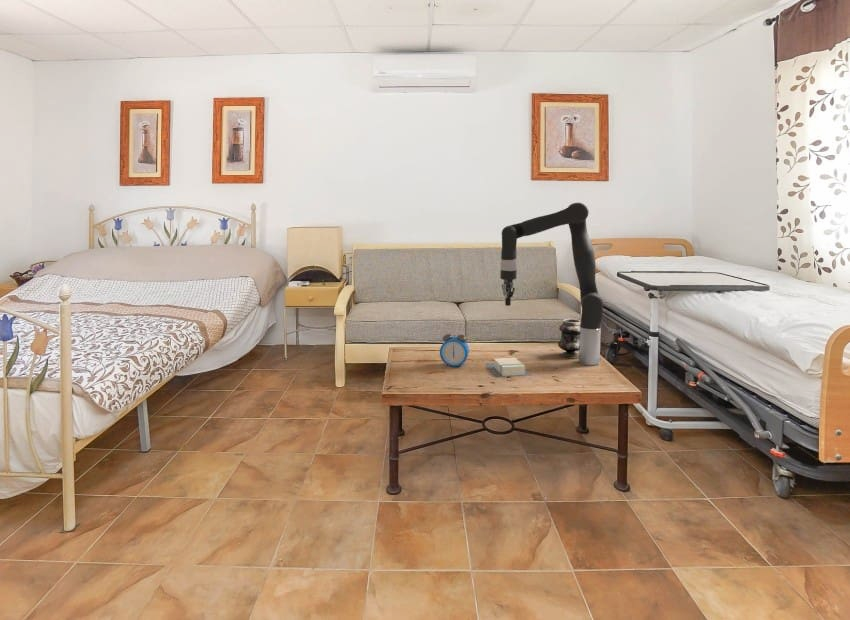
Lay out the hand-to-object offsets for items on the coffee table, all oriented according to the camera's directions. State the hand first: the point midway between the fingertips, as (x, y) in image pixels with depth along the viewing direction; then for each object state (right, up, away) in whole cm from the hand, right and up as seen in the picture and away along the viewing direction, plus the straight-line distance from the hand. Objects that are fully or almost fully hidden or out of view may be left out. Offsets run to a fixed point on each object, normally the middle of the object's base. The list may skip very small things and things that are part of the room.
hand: (507, 305), depth 250 cm
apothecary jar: (+33, -25, +12) cm, 43 cm away
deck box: (-3, -26, -7) cm, 27 cm away
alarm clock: (-25, -28, -3) cm, 38 cm away
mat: (-2, -29, -11) cm, 31 cm away
